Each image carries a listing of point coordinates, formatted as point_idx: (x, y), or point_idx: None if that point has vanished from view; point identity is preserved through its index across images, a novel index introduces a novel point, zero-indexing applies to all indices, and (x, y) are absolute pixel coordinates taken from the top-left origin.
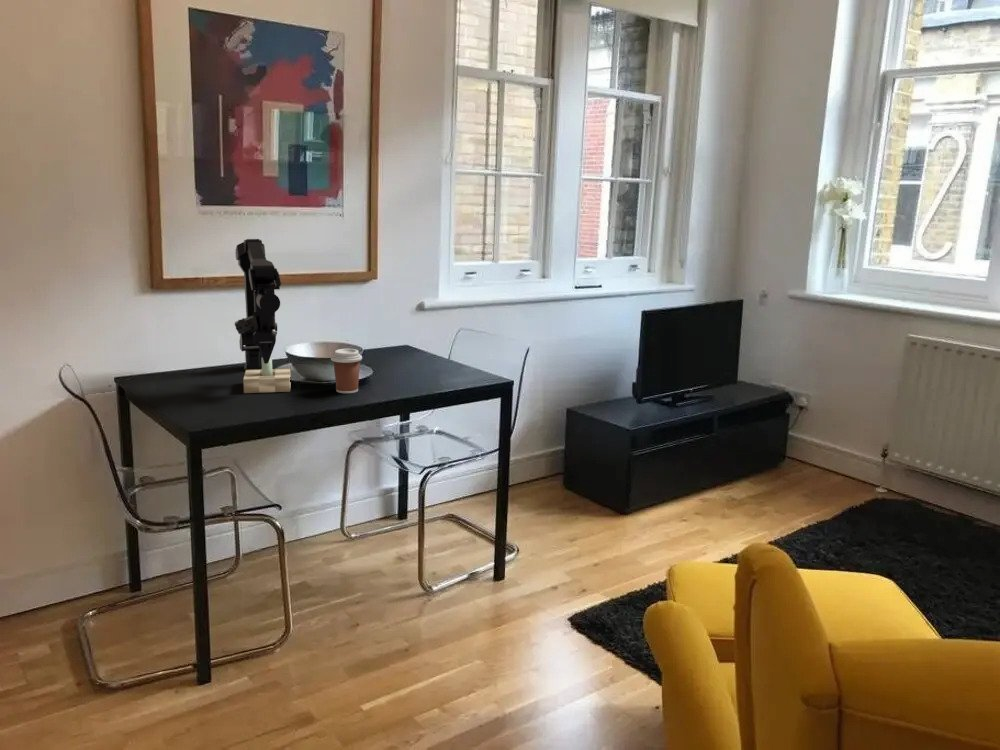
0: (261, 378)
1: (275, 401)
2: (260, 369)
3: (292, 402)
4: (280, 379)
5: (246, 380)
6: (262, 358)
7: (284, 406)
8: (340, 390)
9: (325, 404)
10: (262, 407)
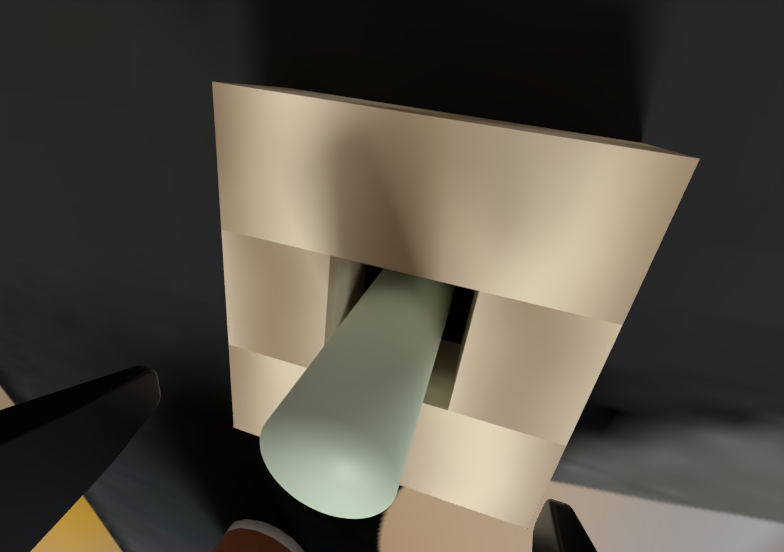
0: (243, 257)
1: (107, 256)
2: (620, 324)
3: (98, 323)
4: (234, 374)
5: (219, 115)
6: (288, 410)
7: (38, 276)
8: (229, 531)
9: None
10: (4, 171)
